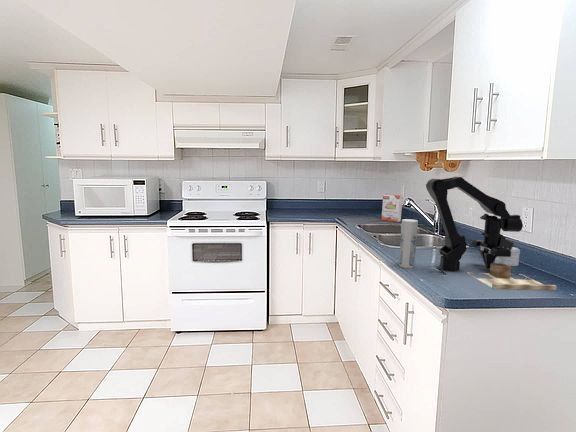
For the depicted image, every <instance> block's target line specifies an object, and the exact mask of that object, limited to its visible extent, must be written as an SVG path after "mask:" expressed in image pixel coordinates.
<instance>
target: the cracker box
mask: <svg viewBox="0 0 576 432" xmlns="http://www.w3.org/2000/svg"><path fill="white" fill-rule="evenodd" d="M403 197H404V196H403V195H401V194H388V193H384V194H383V196H382V205H381V206H382V209H381V221H387V222H393V221H394V222H395V223H399V222H402V210H403Z"/></svg>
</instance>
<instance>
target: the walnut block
mask: <svg viewBox="0 0 576 432" xmlns="http://www.w3.org/2000/svg"><path fill="white" fill-rule="evenodd" d="M511 271H512V266H508V265H506V264H502V263H495V262H493V263H491V266H490V269H489V273H490V275H492V276H494V277H496V278H509V279H510V277H511V274H512V272H511Z"/></svg>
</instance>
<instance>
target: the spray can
mask: <svg viewBox="0 0 576 432" xmlns="http://www.w3.org/2000/svg"><path fill="white" fill-rule="evenodd" d="M418 225H419V221H418V220H417V219H408V218H405V219H403V218H402V219H401V227H400V229H401V230H400V244H399V245H400V246H399V260H398V265H399V267H400V268H404V269H413V268H412V267H414V268H415V260H416V247H417V238H418V237H417V236H418Z"/></svg>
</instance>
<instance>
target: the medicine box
mask: <svg viewBox="0 0 576 432" xmlns="http://www.w3.org/2000/svg"><path fill="white" fill-rule="evenodd" d="M503 248H504V247H503ZM507 249H508V248H507ZM510 251H511V257H496V258H495V260H494V263H502V264H506V265H508V266H510V267H518V266H519V261H520V255H521V254H520V253H521V249H519V247H514V246H513V247H512V249H511V250H510Z"/></svg>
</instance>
